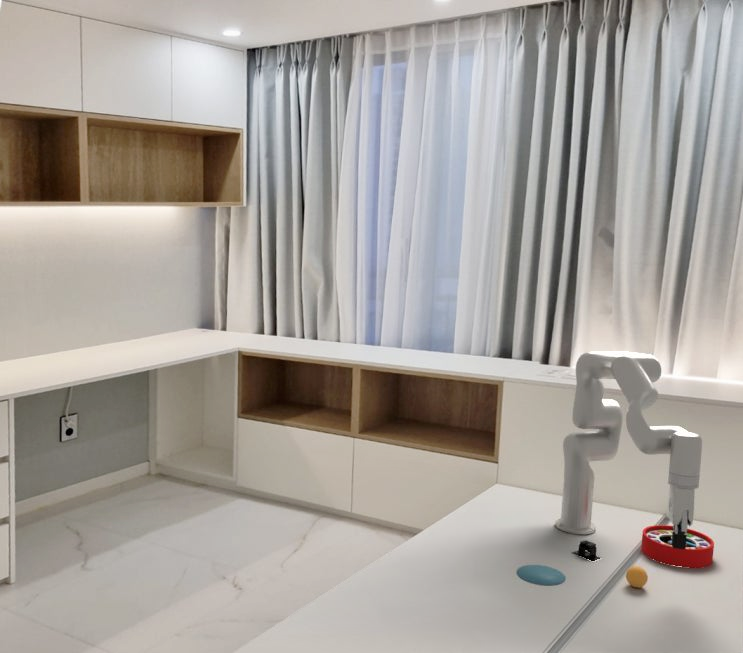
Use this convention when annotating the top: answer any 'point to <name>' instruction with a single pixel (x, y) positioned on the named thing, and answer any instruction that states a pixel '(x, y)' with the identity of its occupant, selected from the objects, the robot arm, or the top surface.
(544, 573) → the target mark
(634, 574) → the ball
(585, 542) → the black boxy piece
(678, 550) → the toy clock
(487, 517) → the top surface
